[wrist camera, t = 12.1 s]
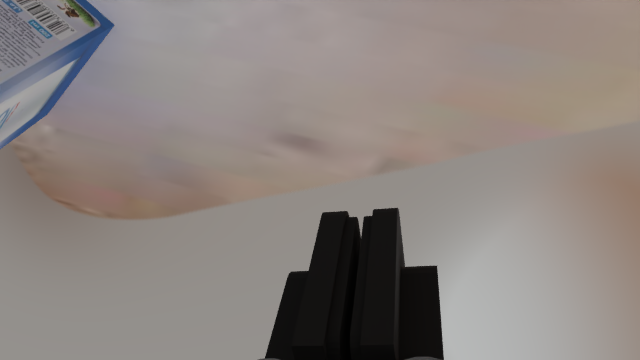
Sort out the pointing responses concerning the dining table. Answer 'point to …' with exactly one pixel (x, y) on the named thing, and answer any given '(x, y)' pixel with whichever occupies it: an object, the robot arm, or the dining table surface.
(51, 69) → the milk carton
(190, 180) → the dining table surface
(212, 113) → the dining table surface
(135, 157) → the dining table surface
